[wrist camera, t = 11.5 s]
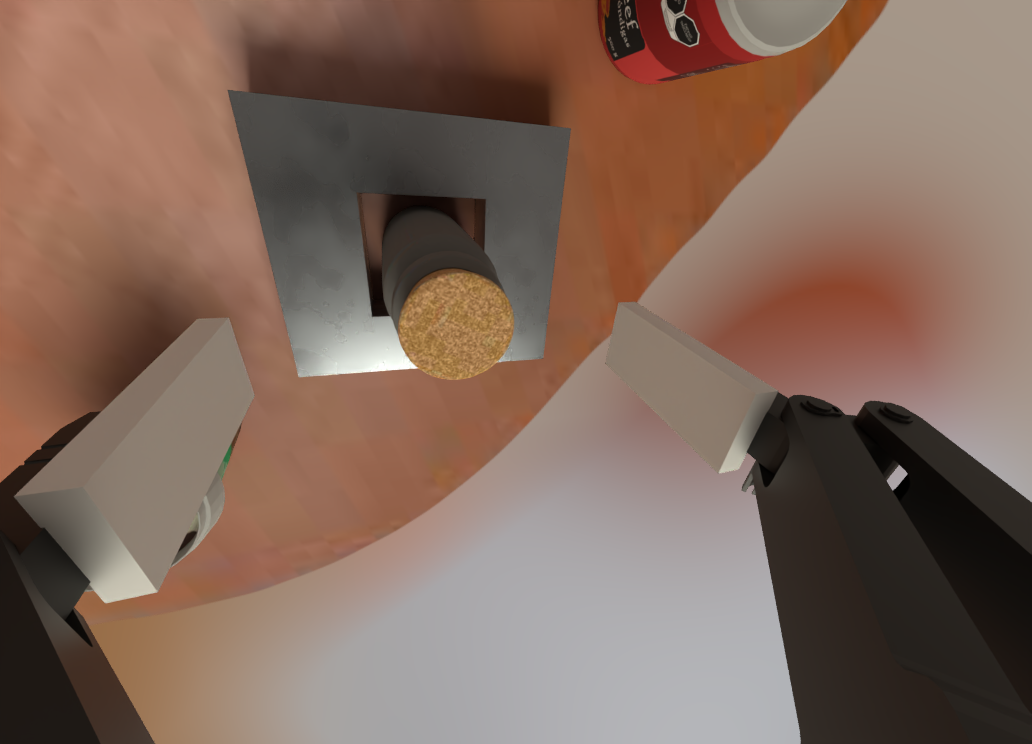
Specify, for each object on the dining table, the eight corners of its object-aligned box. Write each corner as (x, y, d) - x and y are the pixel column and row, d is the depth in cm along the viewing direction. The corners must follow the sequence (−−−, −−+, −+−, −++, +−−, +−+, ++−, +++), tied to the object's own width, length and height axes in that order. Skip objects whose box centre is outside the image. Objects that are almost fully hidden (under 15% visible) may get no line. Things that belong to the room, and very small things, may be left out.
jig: (249, 97, 21) (227, 89, 18) (550, 130, 26) (570, 128, 23) (307, 354, 29) (299, 377, 26) (529, 340, 34) (542, 358, 31)
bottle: (426, 302, 29) (458, 414, 17) (363, 246, 26) (347, 334, 14) (479, 249, 29) (554, 326, 16) (422, 185, 25) (461, 220, 13)
